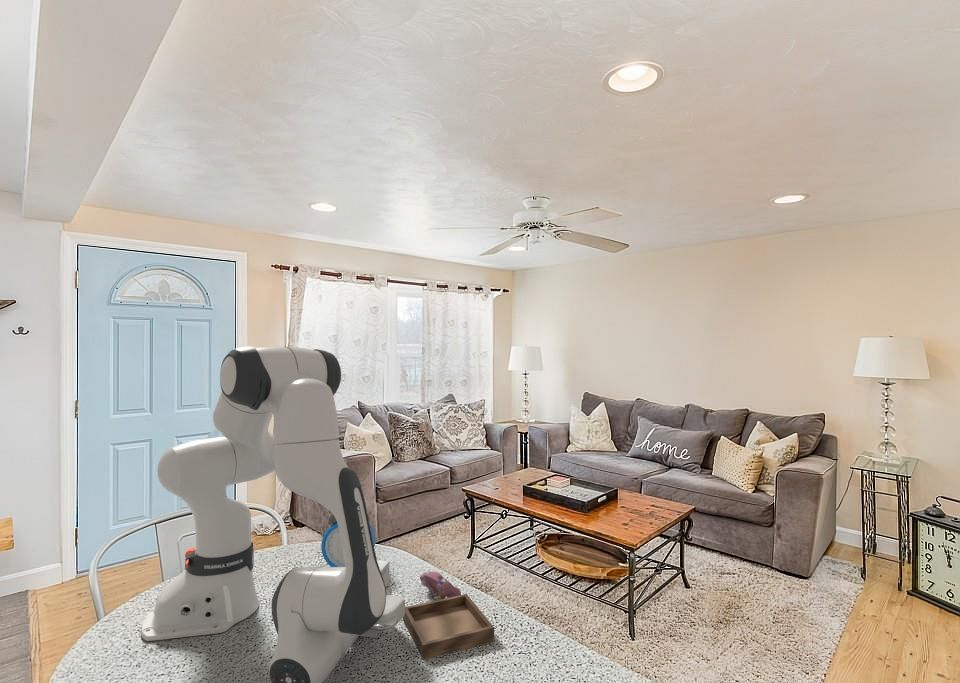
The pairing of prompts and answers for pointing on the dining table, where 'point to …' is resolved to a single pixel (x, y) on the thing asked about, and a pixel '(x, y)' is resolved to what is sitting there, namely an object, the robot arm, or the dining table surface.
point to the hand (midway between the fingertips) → (368, 588)
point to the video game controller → (439, 585)
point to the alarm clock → (336, 544)
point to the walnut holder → (447, 626)
